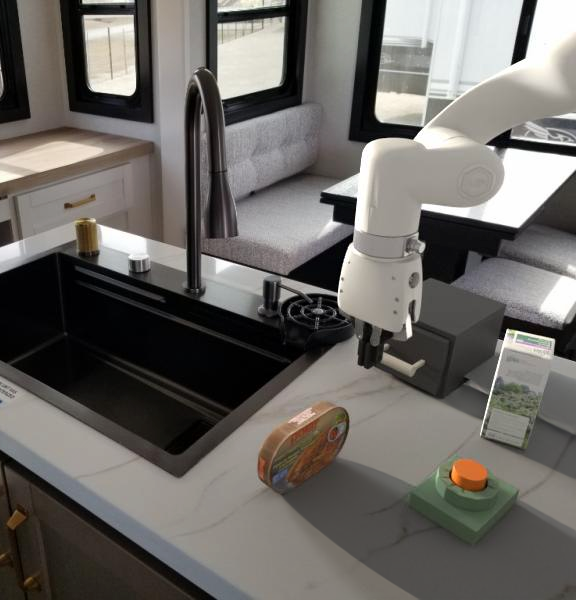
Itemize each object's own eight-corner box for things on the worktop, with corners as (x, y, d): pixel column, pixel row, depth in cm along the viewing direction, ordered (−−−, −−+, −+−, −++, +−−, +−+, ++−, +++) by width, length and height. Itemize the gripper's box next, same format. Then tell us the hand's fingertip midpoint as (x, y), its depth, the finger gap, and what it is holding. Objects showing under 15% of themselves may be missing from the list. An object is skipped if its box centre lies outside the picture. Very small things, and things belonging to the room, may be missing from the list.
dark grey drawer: (419, 406, 91) (429, 353, 87) (352, 372, 99) (358, 322, 95) (482, 362, 101) (494, 313, 97) (416, 335, 109) (424, 288, 105)
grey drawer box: (442, 399, 94) (456, 336, 89) (369, 363, 103) (378, 304, 98) (491, 364, 102) (506, 304, 97) (420, 333, 111) (430, 277, 106)
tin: (269, 506, 75) (273, 450, 72) (250, 491, 78) (253, 436, 74) (348, 451, 84) (355, 399, 80) (329, 439, 86) (335, 388, 82)
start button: (460, 466, 76) (463, 454, 75) (490, 482, 73) (493, 470, 73) (444, 479, 74) (447, 468, 73) (474, 497, 71) (477, 485, 71)
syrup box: (529, 427, 88) (556, 336, 81) (525, 452, 83) (554, 358, 77) (484, 415, 90) (507, 325, 84) (478, 438, 86) (502, 346, 79)
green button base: (452, 467, 81) (458, 443, 79) (515, 503, 75) (523, 477, 74) (407, 505, 75) (413, 479, 73) (472, 546, 70) (480, 519, 68)
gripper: (456, 248, 77) (433, 376, 85) (353, 218, 87) (341, 334, 96) (421, 266, 73) (400, 398, 81) (317, 232, 83) (309, 352, 91)
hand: (368, 363), depth 88 cm, fingers closed
